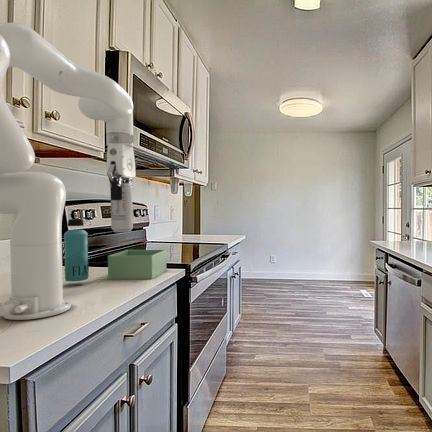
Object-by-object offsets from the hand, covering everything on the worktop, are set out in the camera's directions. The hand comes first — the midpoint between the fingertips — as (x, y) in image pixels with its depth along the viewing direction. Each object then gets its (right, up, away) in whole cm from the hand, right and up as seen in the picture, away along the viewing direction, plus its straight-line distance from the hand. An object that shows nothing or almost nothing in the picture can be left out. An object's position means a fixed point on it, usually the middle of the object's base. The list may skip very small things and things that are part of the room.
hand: (121, 199), depth 110 cm
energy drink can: (0, -10, 0) cm, 10 cm away
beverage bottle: (-13, -26, -1) cm, 29 cm away
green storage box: (-1, -25, +14) cm, 29 cm away
